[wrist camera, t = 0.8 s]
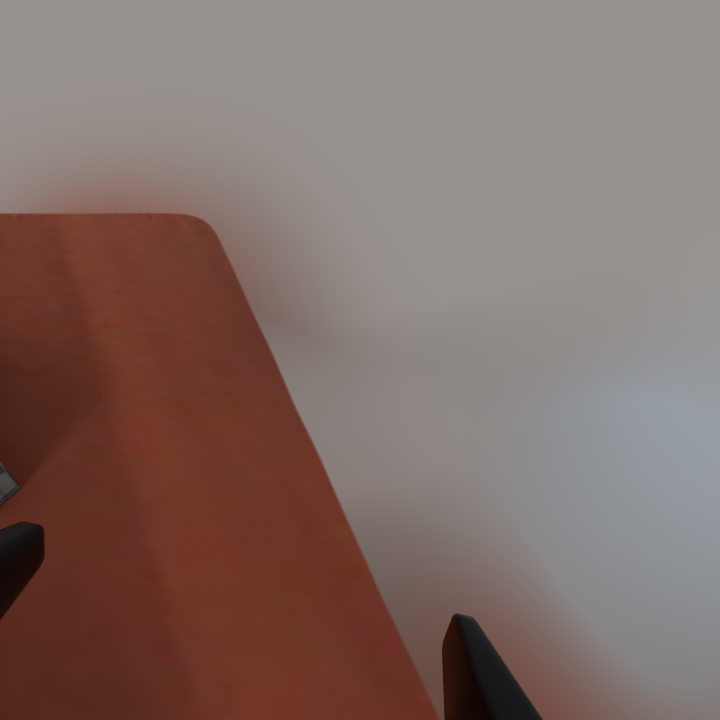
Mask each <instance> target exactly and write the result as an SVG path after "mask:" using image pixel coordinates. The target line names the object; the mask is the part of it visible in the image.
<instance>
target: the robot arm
mask: <svg viewBox="0 0 720 720" xmlns="http://www.w3.org/2000/svg"><path fill="white" fill-rule="evenodd" d="M44 556H45V546H44V529H43V527H42V526H41V525H38V524H33V523H29V522H19V523H16V524H14V525H11V526H9V527H6V528H4V529H1V530H0V620H1V618H2V617H3V616H4V614H5V613H6V612H7V610H8V609H9V608H10V606H11V605H12V604H13V602H14V601H15V600H16V598H17V597H18V596H19V594H20V593H21V592H22V590H23V589H24V588H25V586H26V585H27V584H28V582H29V581H30V580H31V578H32V577H33V576H34V574H35V573H36V572H37V570H38V569H39V568H40V566H41V564H42V562H43V560H44ZM442 662H443V687H444V688H443V689H444V715H445V720H543V719H542V718H541V717H540V715H539V714H538V712H537V710H536V709H535V708H534V706H533V705H532V703H531V702H530V700H529V699H528V697H527V696H526V694H525V693H524V691H523V690H522V688H521V687H520V686H519V684H518V682H517V681H516V679H515V678H514V676H513V675H512V673H511V672H510V670H509V669H508V667H507V666H506V664H504V662H503V660H502V659H501V657H500V656H499V654H498V653H497V651H496V650H495V648H494V647H493V645H492V644H491V642H490V641H489V639H488V638H487V636H486V635H485V633H484V632H483V630H482V629H481V627H480V626H479V625H478V623H477V622H476V620H475V619H474V618H473V617H471V616H466V615H462V614H455V615H453V617H452V619H451V622H450V624H449V627H448V630H447V632H446V635H445V637H444V641H443V647H442Z"/></svg>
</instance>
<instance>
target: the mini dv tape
mask: <svg viewBox="0 0 720 720" xmlns="http://www.w3.org/2000/svg"><path fill="white" fill-rule="evenodd" d="M18 489H20V486H19V485H18V484H17V483H16V481H15V480H14V479H13V477H12V476H11V475H10V474H9V472H8V471H7V470H6V468H5V467H4V466H3V465H2V463H1V462H0V505H1V504H2V503H3V502H4V501H5V500H7V499H8V498H9V497H10V496H11V495H13V494H14V493H15V492H16V491H17V490H18Z"/></svg>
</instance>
